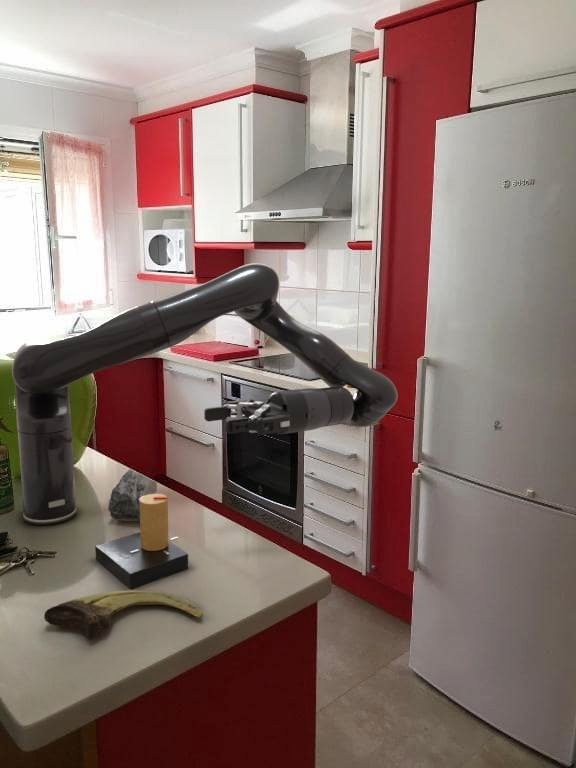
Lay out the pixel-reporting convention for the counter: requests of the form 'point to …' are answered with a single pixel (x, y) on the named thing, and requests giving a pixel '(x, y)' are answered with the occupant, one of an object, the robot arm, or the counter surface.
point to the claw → (109, 609)
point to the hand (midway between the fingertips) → (215, 420)
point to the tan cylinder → (154, 522)
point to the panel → (139, 560)
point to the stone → (130, 496)
